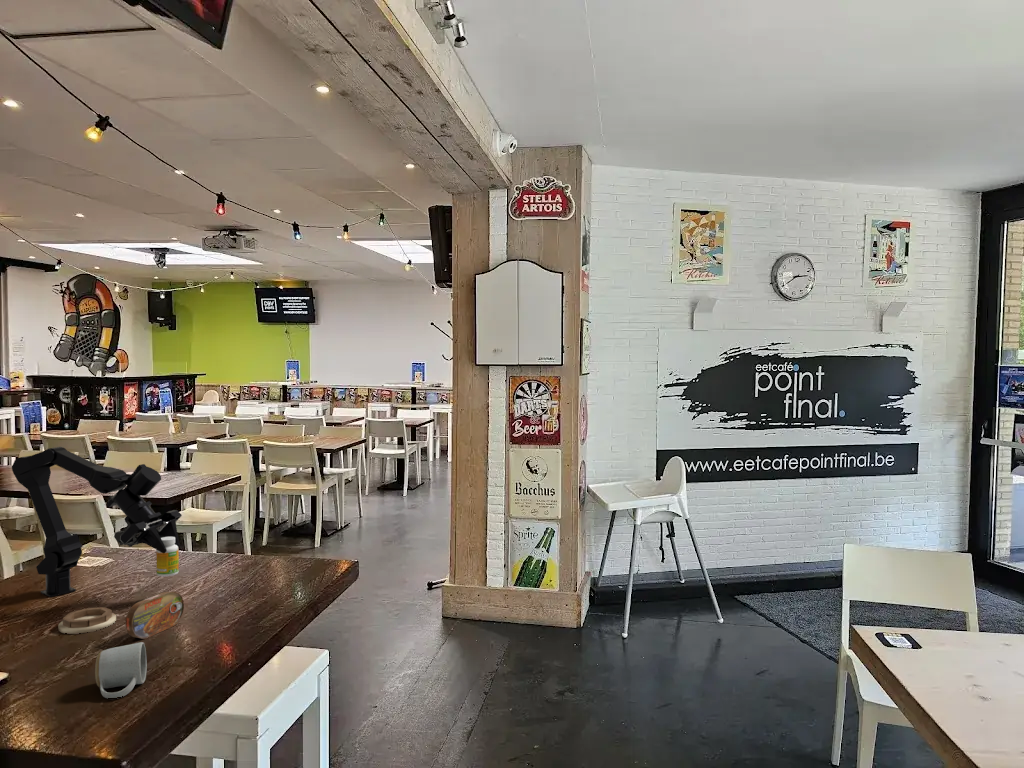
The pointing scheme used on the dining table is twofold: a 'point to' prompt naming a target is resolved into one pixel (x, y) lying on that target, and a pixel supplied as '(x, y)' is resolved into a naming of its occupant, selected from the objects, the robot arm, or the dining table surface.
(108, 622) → the collar stand
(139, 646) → the ceramic mug
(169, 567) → the supplement bottle
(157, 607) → the tin
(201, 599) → the dining table surface
